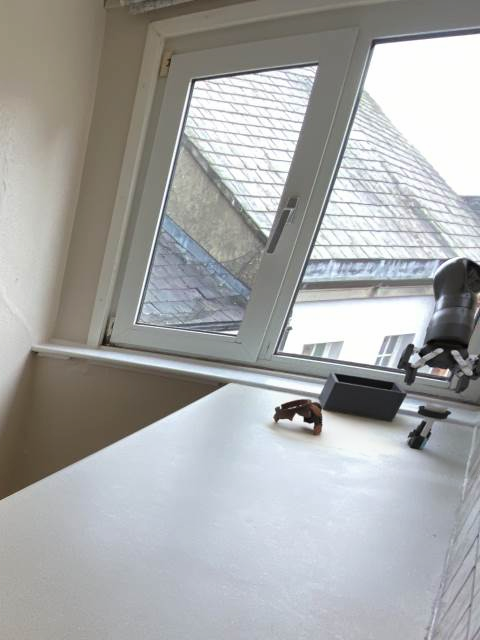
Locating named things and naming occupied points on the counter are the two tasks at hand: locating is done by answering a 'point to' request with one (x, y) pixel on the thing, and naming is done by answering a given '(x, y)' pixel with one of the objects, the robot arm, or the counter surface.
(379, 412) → the dark grey open box
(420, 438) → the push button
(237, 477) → the counter surface
